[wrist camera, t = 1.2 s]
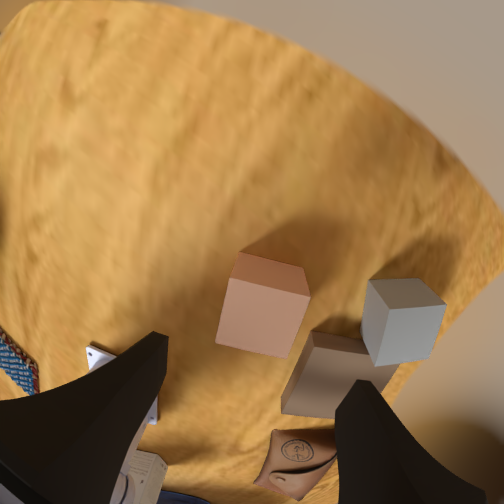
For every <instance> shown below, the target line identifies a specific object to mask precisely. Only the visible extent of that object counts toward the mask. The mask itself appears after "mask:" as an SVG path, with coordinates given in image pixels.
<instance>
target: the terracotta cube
mask: <svg viewBox="0 0 504 504" xmlns="http://www.w3.org/2000/svg"><path fill="white" fill-rule="evenodd" d="M310 299H311V295H310V291H309V288H308V284H307V280H306V277H305V273H304V270H303V268H302V267H298V266H294V265H290V264H286V263H282V262H278V261H274V260H270V259H266V258H263V257H259V256H255V255H251V254H247V253H243V252H239V253H238V256H237V259H236V261H235V264H234V267H233V269H232V272H231V275H230V278H229V282H228V286H227V291H226V295H225V299H224V304H223V308H222V313H221V317H220V321H219V326H218V330H217V335H216V339H215V343H218V344H222V345H226V346H230V347H234V348H238V349H242V350H246V351H250V352H255V353H259V354H264V355H269V356H273V357H278V358H283V359H287V357H288V354H289V352H290V350H291V347H292V345H293V342H294V340H295V337H296V335H297V332H298V330H299V327H300V325H301V322H302V320H303V317H304V315H305V312H306V309H307V307H308V304H309V302H310Z"/></svg>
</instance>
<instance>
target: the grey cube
mask: <svg viewBox="0 0 504 504" xmlns="http://www.w3.org/2000/svg"><path fill="white" fill-rule="evenodd" d="M446 306H447V304H446V303H445V302H444V301H443V300H442V299H441V298H440V297H439V296H438V295H437V294H436V293H435V292H433V291H432V290H431V289H430V288H429V287H428V286H427V285H426V284H425V283H424V282H423V281H422V280H421V279H419V278H406V279H376V280H368V284H367V291H366V297H365V303H364V309H363V315H362V320H361V325H360V330H359V332H360V334H361V336H362V338H363V341H364V343H365V345H366V348H367V350H368V352H369V354H370V357H371V359H372V362H373V364H374V366H375V367H376V366H385V365H392V364H399V363H406V362H412V361H418V360H424V359H429V356H430V354H431V351H432V348H433V346H434V343H435V340H436V337H437V334H438V331H439V328H440V325H441V322H442V319H443V316H444V313H445V309H446Z"/></svg>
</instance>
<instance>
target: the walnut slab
mask: <svg viewBox="0 0 504 504" xmlns="http://www.w3.org/2000/svg"><path fill="white" fill-rule="evenodd" d="M399 365H400V363H399V364H392V365H385V366H376V367H375V366H374V364H373V362H372V359H371V357H370V354H369V352H368V350H367V348H366V345H365V343H364V341H363V340H361V339H355V338H349V337H343V336H338V335H332V334H327V333H321V332H316V331H310V334H309V336H308V339H307V341H306V343H305V346H304V348H303V350H302V353H301V355H300V357H299V359H298V362H297V364H296V366H295V368H294V370H293V373H292V375H291V377H290V379H289V381H288V383H287V385H286V387H285V390H284V392H283V394H282V396H281V414H288V415H296V416H305V417H315V418H327V419H335V410H336V409H337V407H338V406H339V404H340V403H341V402H342V400H343V399H344V397H345V396H346V395H347V393H348V392H349V390H350V389H351V387H352V386H353V384H354V383H355V381H356V380H357V379H360V380H368V381H371V382H372V384H373V385H374V386H375V387H376V389H377V390H378V391H379V393H381V392H382V391H383V389H384V388H385V386H386V385H387V383H388V382H389V380H390V379H391V377H392V376H393V374H394V373H395V371H396V370H397V368H398V367H399Z"/></svg>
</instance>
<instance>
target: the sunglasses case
mask: <svg viewBox="0 0 504 504" xmlns="http://www.w3.org/2000/svg"><path fill="white" fill-rule="evenodd" d="M336 458H337V451H336V442H335V429H323V430H277V429H274V430H272V433H271V440H270V447H269V451H268V455H267V457H266V460H265V462H264V465H263V467H262V470H261V472H260V474H259V476H258V477H257V479H256V480H255V481H254V484H256V485H258V486H261V487H264V488H267V489H269V490H272V491H275V492H278V493H280V494H283V495H286V496H290V497H292V498H294V499H295V500H297V501H300V500H302V499H303V498H304V496H305V495H306V494H307V493H308V492H309V491H310V490H311V489H312V488H313V487H314V486H315V485H316V484H317V483H318V482H319V481H320V479H321V478H322V477H323V476H324V475H325V473H326V472H327V471H328V470H329V468H330V467H331V466H332V464H333V463H334V461H335V460H336Z"/></svg>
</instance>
